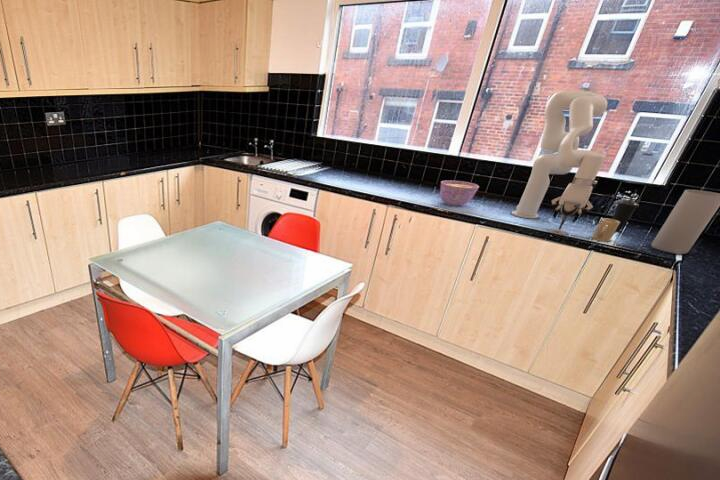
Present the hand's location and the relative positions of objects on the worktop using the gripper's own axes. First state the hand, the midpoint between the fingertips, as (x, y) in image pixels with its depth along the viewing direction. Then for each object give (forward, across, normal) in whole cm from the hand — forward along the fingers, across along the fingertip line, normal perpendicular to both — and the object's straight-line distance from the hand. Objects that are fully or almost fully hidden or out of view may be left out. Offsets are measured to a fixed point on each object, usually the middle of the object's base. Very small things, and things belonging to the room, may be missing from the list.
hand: (563, 219), depth 205 cm
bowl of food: (+6, +53, -20) cm, 57 cm away
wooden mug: (+6, -17, -1) cm, 18 cm away
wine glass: (+6, 0, 0) cm, 6 cm away
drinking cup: (+6, -22, -26) cm, 35 cm away
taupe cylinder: (+6, -41, -6) cm, 42 cm away
